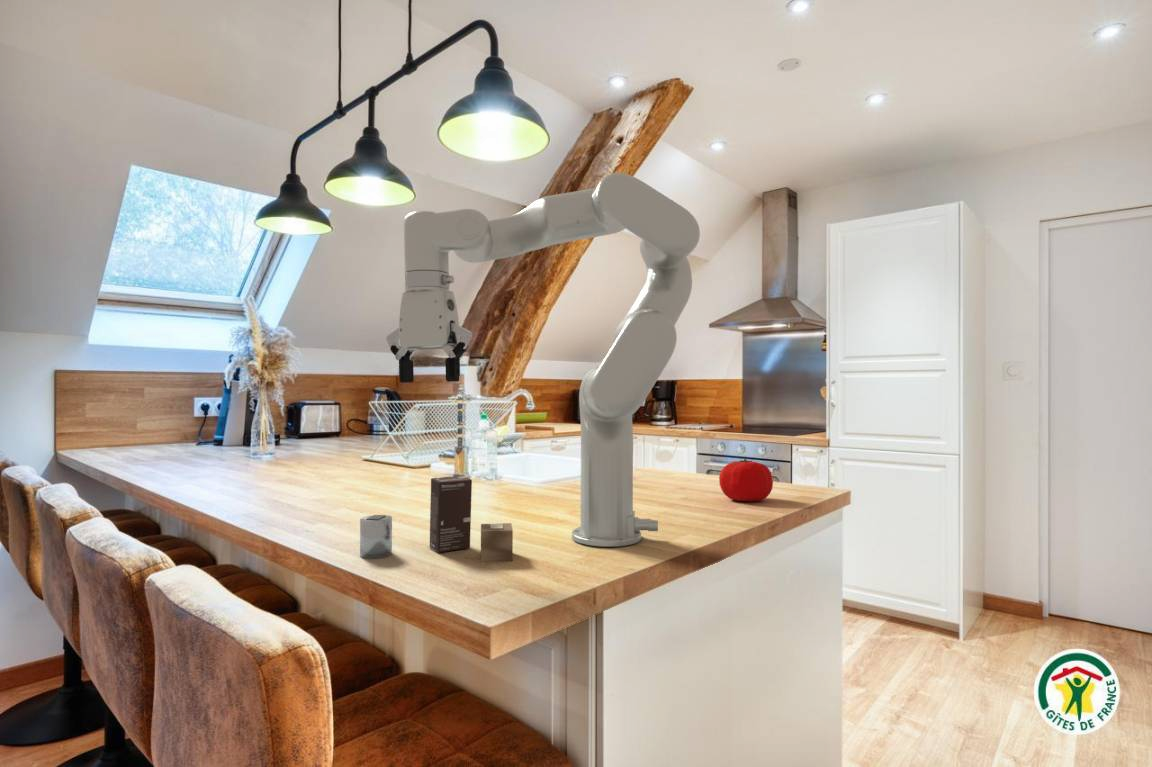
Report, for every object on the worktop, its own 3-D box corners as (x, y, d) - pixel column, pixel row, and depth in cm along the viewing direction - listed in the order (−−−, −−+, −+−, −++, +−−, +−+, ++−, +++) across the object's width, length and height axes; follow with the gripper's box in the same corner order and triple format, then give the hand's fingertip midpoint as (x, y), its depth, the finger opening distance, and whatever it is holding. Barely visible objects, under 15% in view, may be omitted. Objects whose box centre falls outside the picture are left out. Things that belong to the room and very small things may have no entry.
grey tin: (396, 551, 103) (396, 514, 103) (384, 559, 98) (384, 520, 98) (368, 550, 104) (368, 513, 104) (354, 558, 99) (354, 519, 99)
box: (438, 554, 101) (438, 481, 101) (429, 548, 105) (429, 477, 105) (472, 549, 105) (472, 478, 105) (462, 543, 109) (462, 475, 108)
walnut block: (511, 553, 103) (511, 521, 103) (512, 561, 98) (512, 529, 98) (480, 554, 102) (481, 522, 102) (480, 562, 97) (480, 530, 97)
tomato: (778, 505, 143) (779, 461, 143) (724, 504, 144) (724, 460, 144) (764, 496, 155) (764, 455, 155) (713, 495, 155) (714, 455, 155)
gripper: (481, 283, 108) (483, 380, 108) (400, 290, 115) (402, 382, 115) (457, 277, 101) (459, 381, 101) (373, 285, 108) (375, 383, 108)
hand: (429, 381), depth 108 cm, fingers open, 9 cm apart
